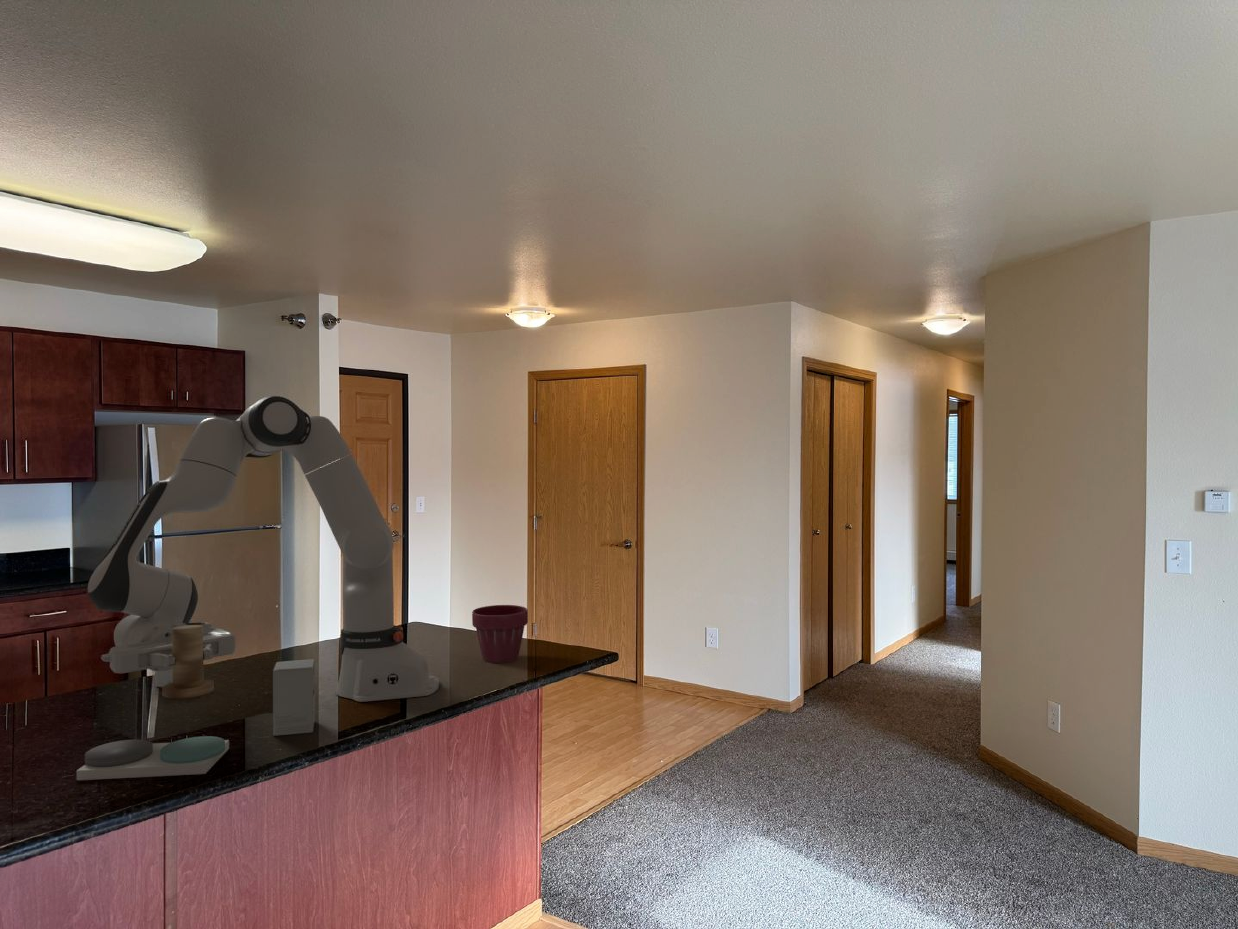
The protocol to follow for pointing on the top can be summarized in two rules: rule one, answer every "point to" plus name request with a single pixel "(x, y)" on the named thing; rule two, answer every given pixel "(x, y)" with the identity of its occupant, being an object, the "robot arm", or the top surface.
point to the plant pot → (500, 631)
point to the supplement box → (293, 697)
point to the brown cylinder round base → (187, 664)
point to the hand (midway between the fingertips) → (190, 658)
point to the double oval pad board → (152, 758)
